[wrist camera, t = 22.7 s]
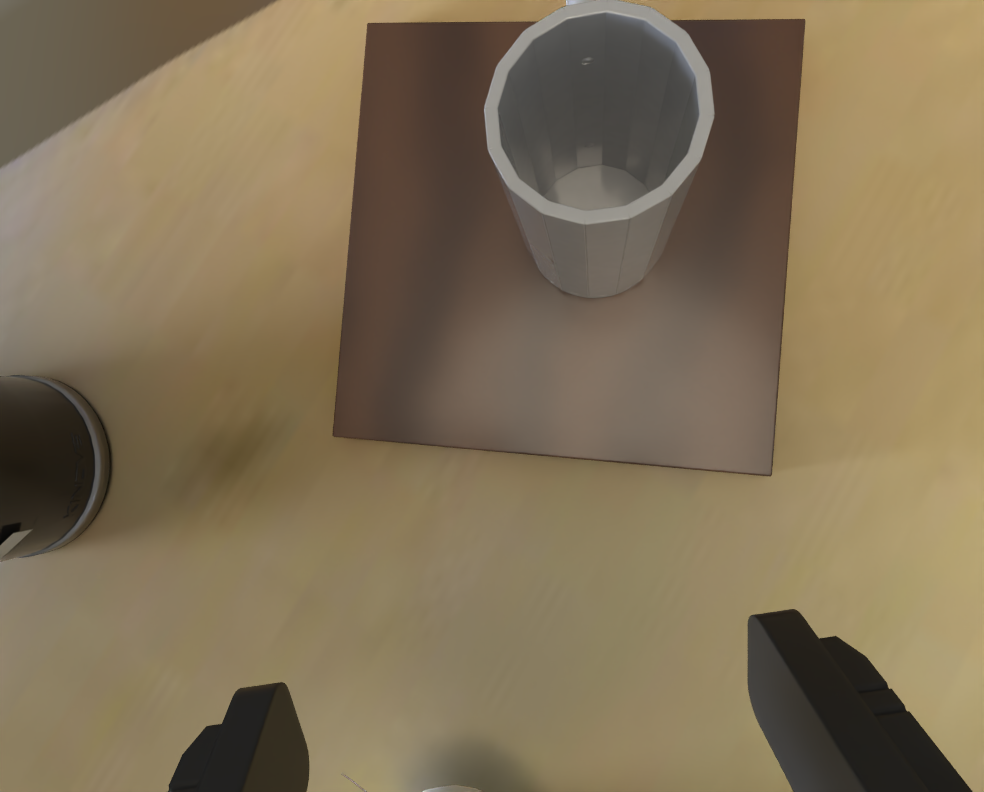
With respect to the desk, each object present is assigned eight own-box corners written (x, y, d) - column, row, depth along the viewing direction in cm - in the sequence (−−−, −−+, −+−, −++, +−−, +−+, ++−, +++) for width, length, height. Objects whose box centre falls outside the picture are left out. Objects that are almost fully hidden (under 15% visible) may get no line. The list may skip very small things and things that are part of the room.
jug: (673, 289, 30) (725, 206, 18) (533, 305, 31) (495, 237, 19) (651, 90, 30) (689, -122, 18) (515, 112, 31) (466, -76, 19)
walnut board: (341, 435, 33) (331, 436, 32) (375, 36, 33) (366, 22, 32) (765, 474, 30) (772, 476, 29) (797, 33, 30) (805, 18, 29)
